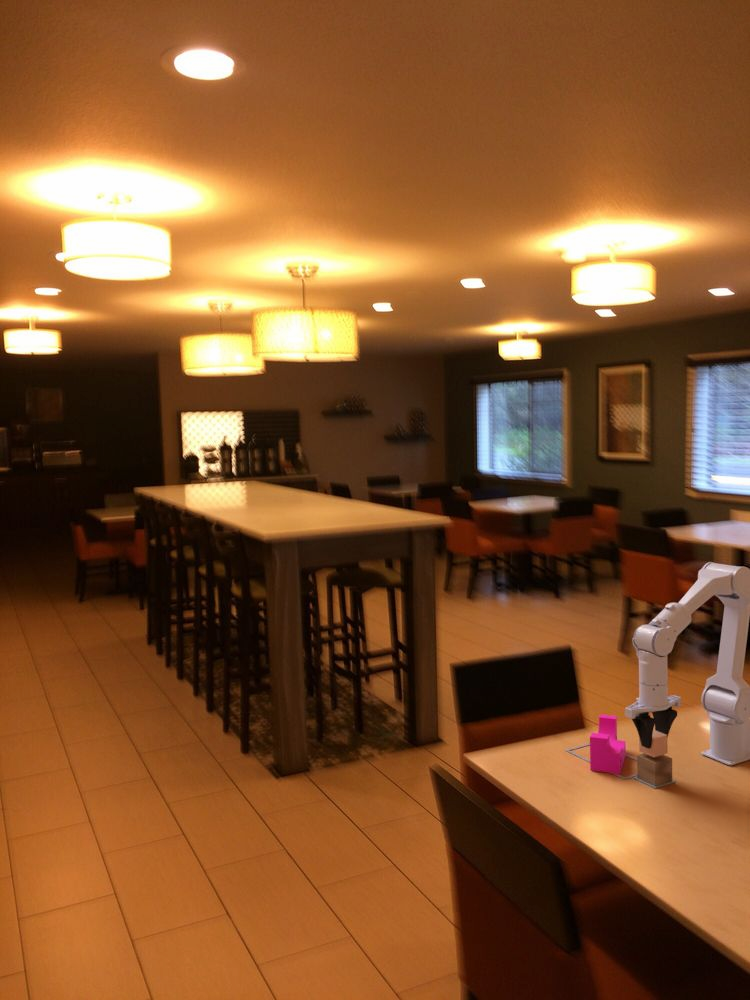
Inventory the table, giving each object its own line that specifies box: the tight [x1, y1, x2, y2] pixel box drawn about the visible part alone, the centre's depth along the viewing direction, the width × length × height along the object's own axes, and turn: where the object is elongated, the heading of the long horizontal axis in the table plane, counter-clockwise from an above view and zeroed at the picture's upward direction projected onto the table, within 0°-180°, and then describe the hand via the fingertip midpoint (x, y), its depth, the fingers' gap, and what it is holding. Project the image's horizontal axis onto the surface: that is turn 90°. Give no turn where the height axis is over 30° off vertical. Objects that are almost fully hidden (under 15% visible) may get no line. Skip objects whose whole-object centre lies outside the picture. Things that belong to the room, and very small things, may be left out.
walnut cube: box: [636, 753, 673, 786], centre depth 168 cm, size 5×5×5 cm
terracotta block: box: [638, 729, 669, 757], centre depth 168 cm, size 4×4×4 cm
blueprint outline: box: [565, 743, 676, 790], centre depth 177 cm, size 10×25×1 cm, turn 28°
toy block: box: [589, 714, 627, 775], centre depth 179 cm, size 15×6×8 cm, turn 155°
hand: (653, 744), depth 167 cm, fingers closed on terracotta block, 4 cm apart
